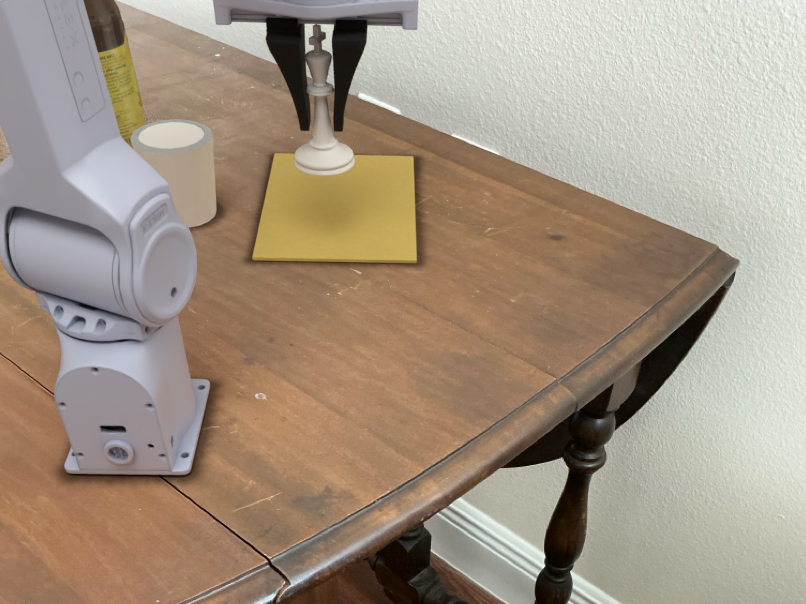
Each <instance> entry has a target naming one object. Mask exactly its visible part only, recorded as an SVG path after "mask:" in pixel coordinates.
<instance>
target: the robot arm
mask: <svg viewBox="0 0 806 604" xmlns="http://www.w3.org/2000/svg"><path fill="white" fill-rule="evenodd" d="M212 5H213V12H214V21H215V25H216V26H230V25H232V23H254V24H255V23H256V24H257V23H262V24H264V23H265V25H266V26H265V27H266V29H265V30H266V35H265V43H266V45H267V48H268V51H269V53H270V55H271V56H272V58H273V59H274V61H275V63H276V65H277V66H278V69H279V70H280V73H281V74H282V77H283V79H284V81H285V83H286V85H287V88H288V90H289V93H290V96H291V99H292V102H293V105H294V108H295V111H296V115H297V119H298V124H299V125H298V126H299V130H300V132H310V127H311V121H312V114H311V113H312V112H311V100H310V99H311V98H310V94H308V93H307V91H306V90H307V86H308V85H309V84H308V77H307V76H308V75H307V63H306V60H305V55H306V53H307V52H306V25H315V24H318V25H332V26H333V28H332V35H331V52H332V53H331V55H332V69H333V88H334V92H333V113H332V114H333V117H332V120H333V121H332V122H333V132H335V133H341V132H343V131H344V125H345V124H344V123H345V110H346V105H347V100H348V96H349V93H350V88H351V87H352V82H353V79H354V76H355V74H356V71H357V69H358V66H359V64H360V60H361V58H362V56H363V54H364V51H365V48H366V45H367V41H368V27H369V26H373V27H377V26H378V27H401V28H402V29H403V30H405V31H406V30H407V31H417V30H418V28H419V27H418V21H419V0H212ZM0 128H1V131H2V134H3V137H4V138H5V142H6V143H7V147H8V150H9V152H10V153H9V154H7V156H6V157H5V158H4V159H3V160H2V161H1V162H0V260H1V263H2V265H3V268H4V270H5V271H6V273H7V274H8V276H9V277H10V278H11V279H12V281H14V282H15V283H16V284H18V285H19V286H20V287H22V288H24V289H26V290H28V291H33V292H35V295H36V298H37V301H38V303H39V307H40V309H41V310H42V311H44V312H46V313H47V314H49V315H50V317H51V319H52V322H53V325H54V328H55V331H56V334H57V337H58V341H59V347H60V367H59V370H58V374H57V376H56V377H57V378H56V381H55V384H54V390H53V397H54V404H55V406H56V409H57V412H58V414H59V417H60V420H61V422H62V425H63V428H64V430H65V433H66V436H67V438H68V441H69V445H70V449H69V451H68V454H67V457H66V459H65V462H64V465H63V466H64V470H65V472H66V473H68V474H70V475H72V474H73V475H74V474H75V475H137V476H138V475H146V476H148V475H149V476H155V475H156V476H186V475H188V474H189V473H191V471H192V467H193V463H194V459H195V455H196V451H197V447H198V442H199V437H200V433H201V429H202V425H203V419H204V416H205V411H206V407H207V403H208V398H209V394H210V389H211V382H210V380H209V379H207V378H192V377H191V373H190V368H189V363H188V359H187V353H186V349H185V343H184V339H183V334H182V330H181V325H180V324H181V323H180V318H179V314H180V313H181V312H182V311H183V310H184V308H185V307H186V305H187V304H188V302H189V301H190V298H191V296H192V294H193V291H194V289H195V286H196V282H197V275H198V253H197V248H196V245H195V240H194V237H193V234H192V231H191V229H190V228H189V227H188V226H187V224H186V223H185V222H184V220H183V219H182V218H181V217H180V216H179V214H178V212H177V210H176V208H175V206H174V203H173V199H172V195H171V191H170V187H169V184H168V183H167V181H166V180H165V179H164V178H163V177H162V176H161V175H160V174H159V173H158V172H157V171H156V170H155V169H154V168H153V167H152V166H151V165H150V164H148V163H147V162H146V161H145V160H144V159H143V158H142V157H141V156H140V155H139V154H138V153H137V152H136V151H135V150H133V149H132V148H131V147H130V146H129V145H128V144H127V143H126V142H125V140H124V139H123V138H122V137H121V134H120V131H119V127H118V123H117V120H116V116H115V113H114V109H113V105H112V102H111V98H110V95H109V91H108V87H107V84H106V80H105V77H104V73H103V69H102V66H101V62H100V58H99V55H98V51H97V48H96V44H95V40H94V37H93V33H92V30H91V26H90V22H89V19H88V15H87V11H86V8H85V4H84V1H83V0H0Z"/></svg>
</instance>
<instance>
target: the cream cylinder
mask: <svg viewBox="0 0 806 604" xmlns="http://www.w3.org/2000/svg"><path fill="white" fill-rule="evenodd" d="M130 139H131V143H132V146H133V149H134V150H135V151H136V152H137V153H138V154H139V155H140V156H141V157H142V158H143V159H144V160H145V161H146V162H147V163H148V164H150V165H151V166H152V167H153V168H154V169H155V170H156V171H157V172H158V173H159V174H160V175H161V176H162V177H163V178H164V179H165V180H166V181H167V183H168V184H169V187H170V191H171V195H172V199H173V203H174V206H175V208H176V210H177V212H178V214H179V216H180V217H181V218H182V219H183V220H184V222H185V223H186V224H187V226H188V227H189V229H190V228H195V227H199V226H202V225H204V224H206V223H209V222H210V221H211V220H212V219H214V218H215V217H216V214H217V210H218V209H217V208H218V207H217V195H216V194H217V192H216V191H217V190H216V174H215V155H214V154H215V153H214V135H213V132H212V130H211V128H210V127H209V126H207V125H206V124H203V123H201V122H200V121H195V120H191V119H185V118H184V119H181V118H178V119H177V118H169V119H162V120H155V121H152V122H149V123H147V124H146V125H143V126H141V127H140V128H138V129H136V130H135V131H134V132H133V133H132V135H131V137H130Z"/></svg>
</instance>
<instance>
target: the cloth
mask: <svg viewBox="0 0 806 604" xmlns="http://www.w3.org/2000/svg"><path fill="white" fill-rule="evenodd" d="M353 157H354V160H355V163H354V165H353V167H352V168H351V169H349V170H348V171H346V172H343V173H340V174H337V175H330V176H317V175H311V174H307V173H304V172H302V171H300V170H299V169H298V168H297V167H296V166H295V164H294V160H295V153H289V152H287V153H286V152H285V153H283V152H274V154H273V159H272V163H271V169H270V171H269V172H270V173H269V177H268V182H267V187H266V192H265V195H264V200H263V205H262V210H261V215H260V219H259V223H258V229H257V234H256V238H255V242H254V247H253V252H252V257H251V260H252V261H259V262H261V261H266V262H267V261H268V262H273V261H274V262H313V263H315V262H319V263H369V264H371V263H372V264H373V263H374V264H418V250H417V224H416V223H417V220H416V192H415V191H416V190H415V189H416V188H415V158H414V156H413V155H381V154H380V155H376V154H375V155H373V154H354V156H353Z"/></svg>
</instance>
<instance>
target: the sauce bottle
mask: <svg viewBox="0 0 806 604" xmlns="http://www.w3.org/2000/svg"><path fill="white" fill-rule="evenodd" d="M83 1H84V4H85V8H86V11H87V15H88V19H89V22H90V26H91V30H92V33H93V37H94V40H95V44H96V48H97V51H98V55H99V58H100V62H101V66H102V69H103V73H104V77H105V80H106V84H107V87H108V91H109V95H110V98H111V102H112V105H113V109H114V113H115V116H116V120H117V123H118V127H119V131H120V134H121V137H122V138H123V139H124V140H125V142H126V143H127V144H128V145H129V146H130V147H131V148H132V149H133V146H132V143H131V139H130V137H131V135H132V133H133V132H134V131H135V130H136V129H138V128H140V127H141V126H143V125H146V124H148V123H147V119H146V115H145V110H144V109H145V108H144V105H143V101H142V97H141V92H140V87H139V83H138V78H137V74H136V70H135V66H134V61H133V58H132V53H131V50H130V49H131V48H130V45H129V38H128V35H127V31H126V27H125V23H124V20H123V19H122V18H123V17H122V13H121V11H120V8H119V6H118V4H117V2H116V1H115V0H83ZM133 150H134V149H133Z"/></svg>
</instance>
